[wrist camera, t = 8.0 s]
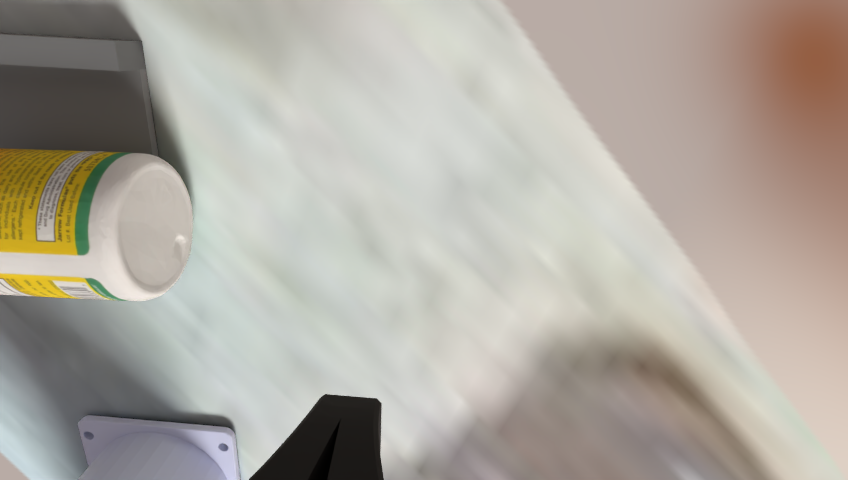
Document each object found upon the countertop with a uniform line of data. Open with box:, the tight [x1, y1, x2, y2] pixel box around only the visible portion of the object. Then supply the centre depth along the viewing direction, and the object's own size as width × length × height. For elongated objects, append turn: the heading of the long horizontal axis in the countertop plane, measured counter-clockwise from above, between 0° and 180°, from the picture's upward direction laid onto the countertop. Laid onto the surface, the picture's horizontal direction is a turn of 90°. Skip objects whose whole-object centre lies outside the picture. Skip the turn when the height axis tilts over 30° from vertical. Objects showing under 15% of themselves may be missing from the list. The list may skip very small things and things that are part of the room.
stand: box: [0, 33, 159, 157], centre depth 20 cm, size 10×11×2 cm
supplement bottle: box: [0, 148, 193, 301], centre depth 18 cm, size 5×5×10 cm
